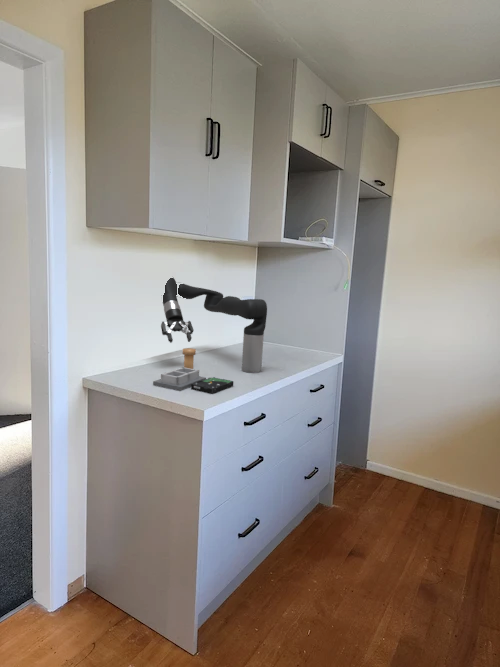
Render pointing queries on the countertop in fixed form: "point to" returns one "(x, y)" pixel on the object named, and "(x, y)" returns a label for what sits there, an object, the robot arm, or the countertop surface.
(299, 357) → the countertop surface
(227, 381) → the disk drive
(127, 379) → the countertop surface
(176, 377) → the box
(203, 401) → the countertop surface
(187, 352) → the ball-topped knob
